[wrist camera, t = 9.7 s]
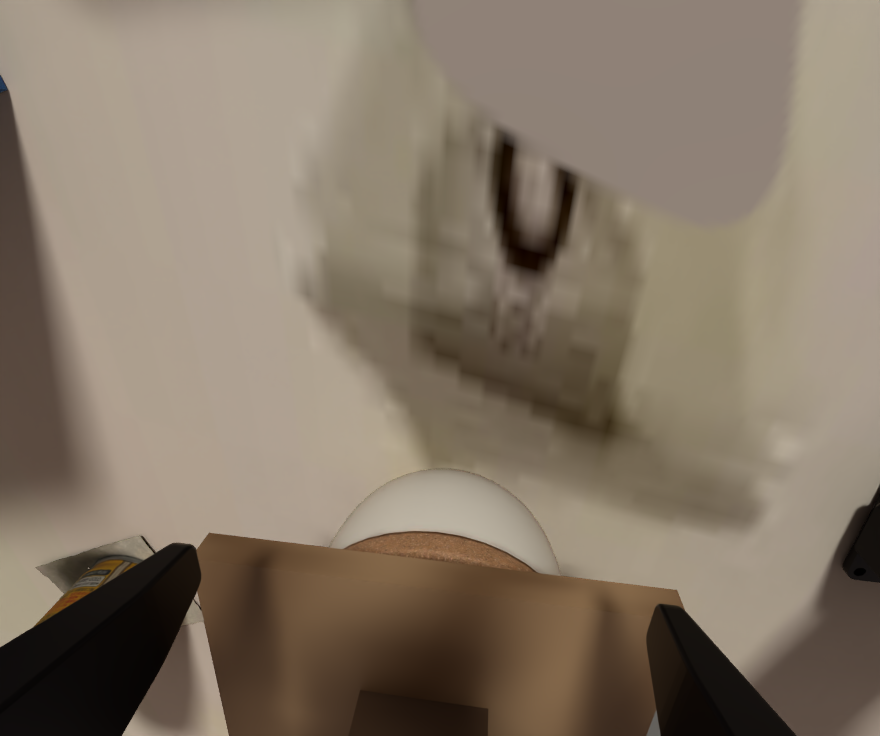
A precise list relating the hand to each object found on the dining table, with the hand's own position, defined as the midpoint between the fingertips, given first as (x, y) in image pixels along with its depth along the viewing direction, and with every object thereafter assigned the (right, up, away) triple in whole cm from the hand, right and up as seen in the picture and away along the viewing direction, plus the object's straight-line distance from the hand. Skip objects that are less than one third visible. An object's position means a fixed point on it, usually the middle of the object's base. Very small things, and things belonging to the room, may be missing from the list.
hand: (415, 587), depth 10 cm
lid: (0, -7, +7) cm, 10 cm away
